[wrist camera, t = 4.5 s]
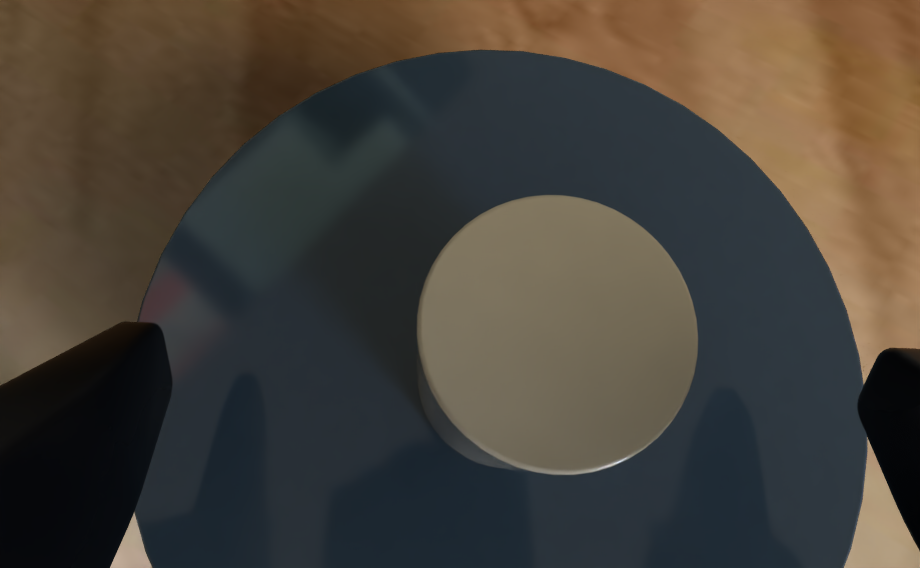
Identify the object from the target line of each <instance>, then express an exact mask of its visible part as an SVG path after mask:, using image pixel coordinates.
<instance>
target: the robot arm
mask: <svg viewBox="0 0 920 568" xmlns="http://www.w3.org/2000/svg"><path fill="white" fill-rule="evenodd" d="M172 386H173V379H172V373H171V368H170V363H169V358H168V353H167V348H166V343H165V338H164V334H163V331H162V329H161V327H160V326H159V325H158V324H156V323H153V322H121V323H119V324H117V325H115V326H113V327H111V328H109V329H107V330H105V331H104V332H102V333H100V334H98V335H96V336H94V337H92V338H90V339H88V340H86V341H85V342H83V343H81V344H79V345H77V346H75V347H73V348H71V349H69V350H67V351H65V352H64V353H62V354H60V355H58V356H56V357H54V358H52V359H50V360H48V361H46V362H45V363H43V364H41V365H39V366H37V367H35V368H33V369H31V370H29V371H27V372H25V373H24V374H22V375H20V376H18V377H16V378H14V379H12V380H10V381H8V382H6V383H5V384H3V385H1V386H0V568H110V566H111V564H112V562H113V559H114V557H115V555H116V553H117V550H118V548H119V546H120V544H121V541H122V539H123V537H124V535H125V532H126V530H127V528H128V525H129V523H130V521H131V518H132V516H133V513H134V511H135V509H136V506H137V503H138V500H139V497H140V494H141V491H142V488H143V485H144V482H145V479H146V475H147V472H148V469H149V466H150V463H151V459H152V456H153V453H154V450H155V446H156V443H157V440H158V437H159V433H160V430H161V427H162V424H163V421H164V417H165V414H166V411H167V408H168V404H169V401H170V398H171V394H172ZM857 410H858V415H859V418H860V421H861V423H862V425H863V428H864V430H865V432H866V435H867V437H868V439H869V442H870V444H871V446H872V449H873V451H874V453H875V456H876V458H877V460H878V463H879V465H880V467H881V470H882V472H883V474H884V477H885V479H886V481H887V484H888V486H889V488H890V491H891V493H892V495H893V498H894V500H895V502H896V505H897V507H898V509H899V511H900V513H901V516H902V518H903V520H904V522H905V524H906V526H907V528H908V530H909V532H910V534H911V536H912V538H913V539H914V541H915V543H916V545H917V547H918V549H919V550H920V349H910V348H889V349H886V350H884V351H882V352H881V353H880V354H879V355H878V357H877V359H876V361H875V363H874V365H873V367H872V369H871V371H870V374H869V376H868V378H867V380H866V382H865V384H864V386H863V388H862V390H861V393H860V395H859V397H858V402H857Z"/></svg>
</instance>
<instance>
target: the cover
mask: <svg viewBox="0 0 920 568" xmlns="http://www.w3.org/2000/svg"><path fill="white" fill-rule="evenodd" d="M137 322H153V323H156V324H158V325H159V326H160V327H161V329H162V331H163V334H164V338H165V343H166V348H167V353H168V358H169V363H170V368H171V373H172V379H173V386H172V394H171V398H170V401H169V404H168V408H167V411H166V414H165V417H164V421H163V424H162V427H161V430H160V433H159V437H158V440H157V443H156V446H155V450H154V453H153V456H152V459H151V463H150V466H149V469H148V472H147V475H146V479H145V482H144V485H143V488H142V491H141V494H140V497H139V500H138V503H137V506H136V509H135V511H134V512H135V516H136V519H137V523H138V526H139V530H140V534H141V537H142V541H143V544H144V548H145V551H146V554H147V556H148V559H149V561H150V563H151V565H152V568H844V566H845V563H846V560H847V558H848V555H849V552H850V550H851V546H852V542H853V538H854V534H855V529H856V525H857V521H858V517H859V512H860V508H861V504H862V499H863V490H864V480H865V470H866V460H867V435H866V432H865V430H864V428H863V425H862V423H861V421H860V418H859V415H858V410H857V402H858V397H859V395H860V393H861V390H862V388H863V386H864V385H863V378H862V371H861V365H860V358H859V353H858V350H857V346H856V342H855V339H854V335H853V332H852V328H851V324H850V321H849V317H848V314H847V310H846V308H845V305H844V303H843V300H842V298H841V295H840V293H839V291H838V288H837V286H836V283H835V281H834V278H833V276H832V274H831V271H830V269H829V267H828V265H827V263H826V261H825V259H824V258H823V256H822V254H821V252H820V250H819V249H818V247H817V245H816V243H815V241H814V240H813V238H812V236H811V234H810V232H809V231H808V229H807V227H806V226H805V224H804V223H803V222H802V220H801V219H800V217H799V216H798V215H797V213H796V212H795V210H794V209H793V208H792V206H791V205H790V204H789V202H788V201H787V199H786V198H785V197H784V195H783V194H782V192H781V191H780V190H779V189H778V188H777V187H776V186H775V184H774V183H773V182H772V181H771V180H770V179H769V178H768V177H767V176H766V175H765V173H764V172H763V171H762V170H761V169H760V168H759V167H758V166H757V165H756V164H755V162H754V161H753V160H752V159H751V158H750V157H749V156H747V155H746V154H745V153H744V152H743V151H742V150H741V149H739V148H738V147H737V146H736V145H735V144H734V143H733V142H732V141H730V140H729V139H728V138H727V137H726V136H725V135H724V134H722V133H721V132H720V131H719V130H718V129H716V128H715V127H713V126H712V125H711V124H709V123H708V122H706V121H705V120H703V119H702V118H700V117H699V116H698V115H696V114H695V113H693V112H692V111H690V110H689V109H687V108H686V107H685V106H683V105H681V104H680V103H678V102H676V101H674V100H672V99H670V98H668V97H667V96H665V95H663V94H661V93H659V92H657V91H655V90H654V89H652V88H650V87H648V86H646V85H644V84H642V83H639V82H637V81H634V80H632V79H629V78H627V77H624V76H622V75H619V74H617V73H614V72H612V71H609V70H607V69H603V68H600V67H596V66H592V65H589V64H585V63H582V62H578V61H574V60H571V59H567V58H562V57H556V56H549V55H543V54H536V53H530V52H524V51H499V50H471V51H458V52H446V53H436V54H431V55H426V56H421V57H416V58H411V59H406V60H401V61H396V62H393V63H390V64H387V65H384V66H380V67H377V68H374V69H371V70H368V71H365V72H362V73H359V74H356V75H354V76H351V77H349V78H347V79H345V80H343V81H341V82H338V83H336V84H334V85H332V86H330V87H328V88H325V89H323V90H321V91H319V92H317V93H315V94H313V95H312V96H310V97H309V98H307V99H305V100H304V101H302V102H300V103H299V104H297V105H296V106H294V107H292V108H291V109H289V110H288V111H286V112H284V113H283V114H281V115H279V116H278V117H277V118H276V119H274V120H273V121H272V122H271V123H269V124H268V125H267V126H266V127H264V128H263V129H262V130H261V131H259V132H258V133H257V134H256V135H254V136H253V137H252V138H251V139H249V140H248V141H247V142H246V143H244V144H243V145H242V146H241V148H240V149H239V150H238V151H237V152H236V153H235V154H234V155H233V156H232V157H231V158H230V159H229V160H228V161H227V162H226V163H225V164H224V165H223V166H222V167H221V168H220V169H219V170H218V171H217V172H216V173H215V174H214V175H213V176H212V178H211V179H210V180H209V182H208V183H207V184H206V186H205V187H204V188H203V190H202V191H201V192H200V194H199V195H198V196H197V198H196V199H195V200H194V202H193V203H192V204H191V206H190V207H189V208H188V210H187V211H186V212H185V214H184V215H183V217H182V219H181V221H180V222H179V224H178V226H177V228H176V229H175V231H174V233H173V235H172V236H171V238H170V240H169V242H168V243H167V245H166V247H165V249H164V250H163V252H162V254H161V256H160V259H159V261H158V264H157V266H156V268H155V271H154V273H153V276H152V278H151V281H150V283H149V285H148V288H147V290H146V293H145V295H144V298H143V301H142V304H141V308H140V312H139V316H138V319H137Z"/></svg>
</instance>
